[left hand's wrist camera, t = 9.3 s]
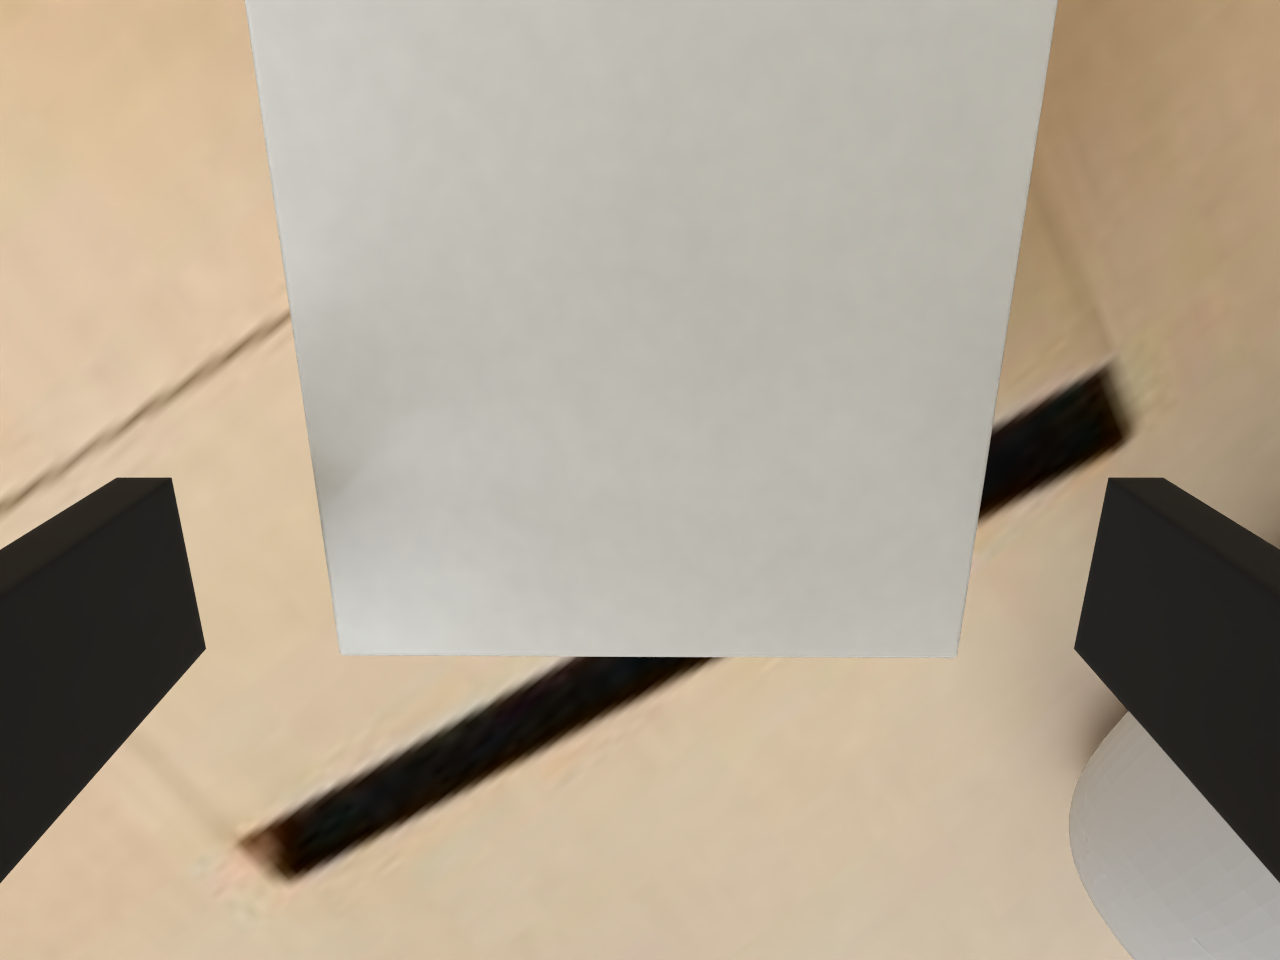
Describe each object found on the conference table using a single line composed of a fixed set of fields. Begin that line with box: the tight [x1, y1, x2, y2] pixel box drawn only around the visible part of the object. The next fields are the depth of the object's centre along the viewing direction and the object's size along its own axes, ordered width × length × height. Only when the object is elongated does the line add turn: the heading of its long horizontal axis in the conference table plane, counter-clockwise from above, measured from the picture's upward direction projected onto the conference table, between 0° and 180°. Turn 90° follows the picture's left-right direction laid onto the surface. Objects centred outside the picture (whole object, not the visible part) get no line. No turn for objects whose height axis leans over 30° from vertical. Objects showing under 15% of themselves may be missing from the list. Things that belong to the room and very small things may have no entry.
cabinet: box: [245, 0, 1058, 658], centre depth 17 cm, size 17×10×11 cm, turn 0°
